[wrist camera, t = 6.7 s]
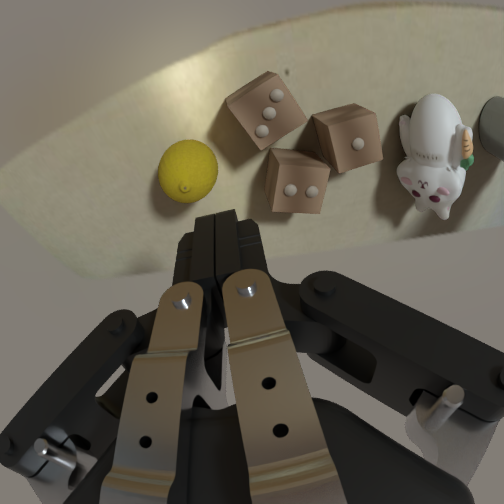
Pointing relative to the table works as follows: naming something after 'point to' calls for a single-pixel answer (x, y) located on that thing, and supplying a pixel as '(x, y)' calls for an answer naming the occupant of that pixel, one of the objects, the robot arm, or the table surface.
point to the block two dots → (295, 181)
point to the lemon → (187, 171)
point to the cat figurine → (434, 154)
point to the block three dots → (266, 109)
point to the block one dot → (348, 137)
